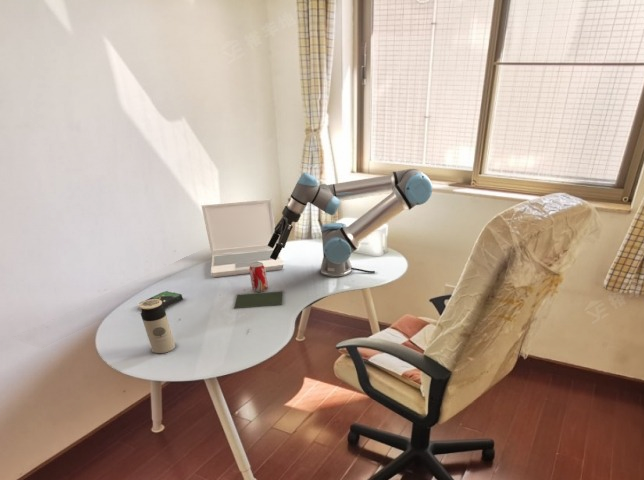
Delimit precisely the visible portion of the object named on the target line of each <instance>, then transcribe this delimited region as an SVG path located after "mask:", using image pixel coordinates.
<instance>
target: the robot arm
mask: <svg viewBox="0 0 644 480" xmlns="http://www.w3.org/2000/svg"><path fill="white" fill-rule="evenodd" d="M432 193H433V183H432V181H431V180H430V177H428V175H427V174H425V173H424V172H422V171H421V170H419V169H418V168H407V169H402V170H401V169H400V170H397V171H392V172H390V173H389V174H388V175H380V176H376V177H368V178H361V179H357V180H351V181H343V182H337V183H331V184H326V183H320V184H319V180H318V179H317V178H316V177H314V176H313V175H312V174H310V173H308V172H303V173H302V174H301V175H300V177H299V178H298V180H297V182H296V183H295V186H294V187H293V190H292V193H291V194H290V196H289V197H288V198H287V199H286V200H287V202H286V205H285V206H284V207H283V209H282V212H281V214H282V216H281V218H280V219H279V221H278V222H277V224H275V228H274V232H275V233H273V235H272V237H271V239H270V241H269V243H268V246H269V247H271V248H274V246H275V244H276V246H275V248H274V250H273V252H272V254H271V256H270V258H272V259H274V260H276V259H277V257H278V255H279V254H280V253H281V252H282V250H283V249H285V247H286V244H287V242H288V239H289V237H290V234H291V232H292V229H293V228H294V226H293V225H292V224H293V223H298V222H299V220H300V218H301V216H302V214H303V213H304V211H305V209H306V207H307V206H308V203H310V204H311V205H312V206H314V207H316V208H318V209H319V210H321V211H323V212H324V213H325V214H328V215H330V216H334V215H335V214H336V212H337V211H338V210H339V208H340V205H341V202H343V201H350V200H351V201H352V200H357V199H362V198H370V197H375V196H382V195H387V196H386V197H385V198H383V199H382V200H381V201H379V202H378V203H376V205H374V206H373V207H371V208H370V209H369V210H368V211H366V212H365V213H363V214H362V215H361V216H360V217H359V218H357V219H356V220H354V221H353V222H352V223H351V224H349V225H348V226H347V225H346V224H345V223H343V222H331V223H330V222H329V223H324V224H322V225H321V229H320V232H321V238H322V239H321V241H322V243H321V244H322V256H323V257H322V261H321V265H320V273H321V275H323V276H325V277H329V278H341V277H345V276H348V275H350V274H351V273H352V272H353V271H357V272H363V273H367V274H375V273H376V270H366V269H362V268H356V267H353V266H352V263H351V261H350V257H351V255H352V254H353V253H354V252H355V251H356V250H358V249H359V245H360V243H362V242H363V241H364V240H365V239H367V238H368V237H369V236H371V235H372V234H373V233H375V232H376V231H378V230H379V229H380V228H382V227H383V226H384V225H385V224H387V223H389V222H390V221H391V220H392V219H394V218H395V217H396V216H397V215H399V214H401V213H402V212H403V211H405V210H406V211H410V210H412V209H413V208H414V207H415V206H421V205H423V204H425V203H427V202H428V201H429V199H430V198H431V196H432ZM276 242H277V243H276Z"/></svg>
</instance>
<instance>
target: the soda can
mask: <svg viewBox="0 0 644 480" xmlns="http://www.w3.org/2000/svg"><path fill="white" fill-rule="evenodd" d="M249 270H250V273H249V276H250V282H251V287H252V291H254V292H256V293H264V292H265V291H267V290H268V288H269V285H268V277H267V271H266V270H265V267H264V265H263V263H261V262H256V263H252V264H250V269H249Z"/></svg>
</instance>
